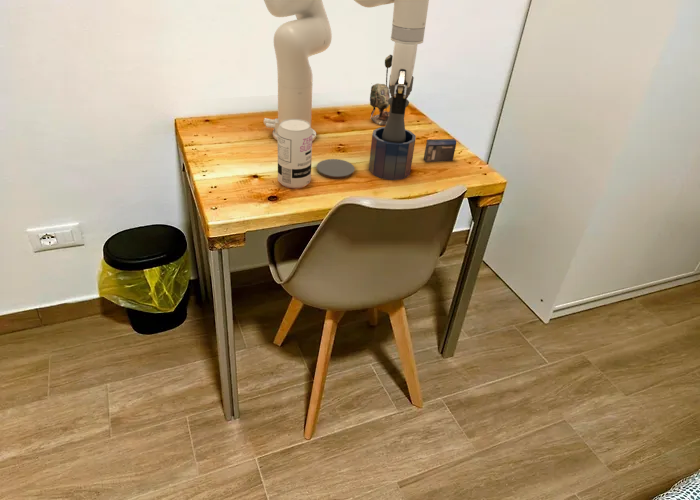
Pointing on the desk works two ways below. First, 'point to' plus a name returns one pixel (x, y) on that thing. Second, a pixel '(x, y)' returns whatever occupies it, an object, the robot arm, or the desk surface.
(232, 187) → the desk surface
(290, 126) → the supplement can
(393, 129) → the candle holder
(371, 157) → the crock
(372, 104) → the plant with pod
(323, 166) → the coaster
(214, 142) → the desk surface
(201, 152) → the desk surface
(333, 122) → the desk surface
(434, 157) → the mini dv tape
